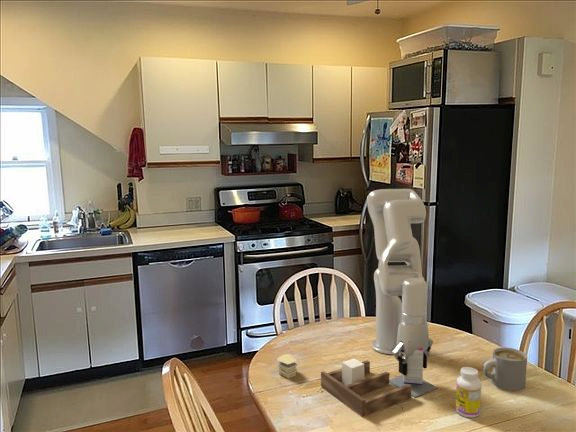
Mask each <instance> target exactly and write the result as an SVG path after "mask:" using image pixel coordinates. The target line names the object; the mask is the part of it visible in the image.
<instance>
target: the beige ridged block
mask: <svg viewBox="0 0 576 432" xmlns="http://www.w3.org/2000/svg"><path fill="white" fill-rule="evenodd" d="M276 360H277V362H276V363H277V365H278V367H276V369H277V371H278V375H280V376H283V377H285V378H287V379H290V378H294V377H296V376H297V372H298V369H297V366H298V364H297V359H296V358H295V357H294V356H293V355H292V354H289V353H287V354H286V353H284V354H282V355H281V356H279V357H277V358H276Z"/></svg>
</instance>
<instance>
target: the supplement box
mask: <svg viewBox="0 0 576 432" xmlns="http://www.w3.org/2000/svg"><path fill="white" fill-rule="evenodd" d="M404 353H405V352H404ZM404 356H405V355H404V354H403V357H404ZM406 363H407V375H406V376H405V375H403V374H402V375H403V381H404V384H412V385H422V379H423V374H424V373H423V371H424V368H423V348H421V349H418V350H415V351H414V354H413V355H410V356H409V357H408V359H407V361H406Z"/></svg>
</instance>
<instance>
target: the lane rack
mask: <svg viewBox="0 0 576 432" xmlns="http://www.w3.org/2000/svg"><path fill="white" fill-rule="evenodd" d="M360 362H361V363H363V364H364V375H367V374H370V373H371V369H370V368H371V367H370V366H371V364H370V363H371V361H369V360H368V359H367V360H364V361H360ZM390 375H391V374H390V372H389V371H385V372H381V373H379V374H375V375H372V376H370V377H367V378H364V380H361V381H358V382H355V383H352V384H349V385H346V386H345V385H343V384H342V368H338V369H336V370H332V371H329V372H326V371H325V370H324V371H321V372H320V387H321V388H322V389H323V390H324V391H326V392H328V393H329V394H330V395H331V396H333V397H334V398H336V400H338V401H340V402H341V403H342V404H343V405H345V406H346V407H348V408H349V409H350V410H351V411H353V412H354V413H356V414H357V415H358V416H360V417H361V418H363V417H366V416H369V415H372V414H373V413H376V412H379V411H382V410H384V409H387V408H389V407H392V406H394V405H397V404H400V403H403V402H404V401H407V400H409V399H411V398H412V396H411V385H409V384H407V385H405V386H402V387H399V388H398V387H396V388H394V389H391V390H389V391H386V392H384V393H380V394H378V395H376V396H373V397H370V398H368V399H365V398H364V397H363V396H361V395H365V394H367V393H370V392H373V391H376V390H378V389H381V388H383V387H387V386H390V382H389V380H390Z"/></svg>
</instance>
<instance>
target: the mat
mask: <svg viewBox="0 0 576 432" xmlns="http://www.w3.org/2000/svg"><path fill="white" fill-rule="evenodd" d="M389 384H391V385H393V386H395V387H396V388H399V387H402V386H405V385H407V384H404V381H403V374H400V376H396V377H394V378H389ZM409 385H411V397H413V398H415V399H416V398H418V397H421V396H423V395H426V394H428V393H431V392H433V391H437V390H439V387H438V386H437V385H434V384H433V383H431V382H429V381H427V380H425V379H423V378H422V385H412V384H409Z"/></svg>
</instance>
